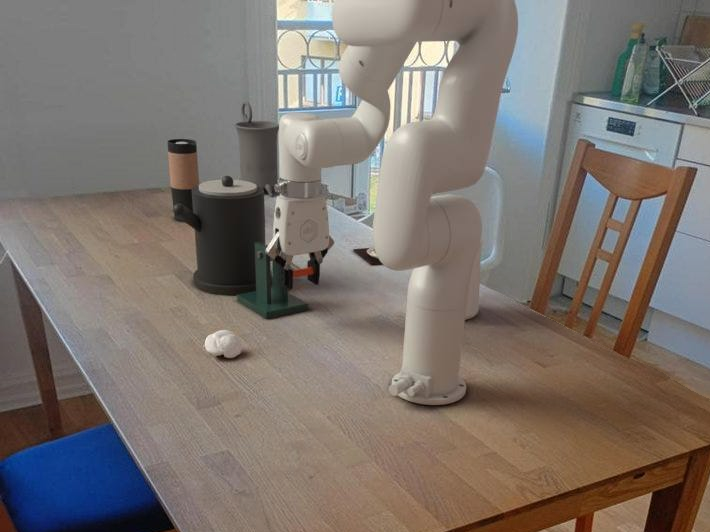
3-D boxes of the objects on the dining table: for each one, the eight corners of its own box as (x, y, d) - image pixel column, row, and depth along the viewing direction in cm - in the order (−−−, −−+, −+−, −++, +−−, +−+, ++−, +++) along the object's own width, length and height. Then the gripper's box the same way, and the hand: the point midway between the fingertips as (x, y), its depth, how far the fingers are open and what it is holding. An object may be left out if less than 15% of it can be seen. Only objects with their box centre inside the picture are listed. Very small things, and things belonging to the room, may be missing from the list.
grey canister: (293, 194, 246) (292, 107, 233) (250, 199, 239) (247, 109, 226) (265, 182, 260) (263, 99, 246) (224, 186, 253) (220, 100, 239)
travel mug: (170, 216, 220) (163, 139, 209) (197, 214, 222) (192, 138, 212) (177, 223, 214) (170, 144, 203) (204, 221, 217) (199, 143, 206)
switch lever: (313, 277, 153) (314, 266, 151) (291, 282, 150) (291, 270, 149) (278, 254, 161) (278, 242, 159) (256, 258, 158) (256, 246, 157)
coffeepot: (417, 332, 154) (425, 236, 144) (433, 291, 175) (440, 204, 165) (472, 338, 153) (484, 241, 143) (481, 296, 173) (492, 209, 163)
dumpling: (232, 347, 145) (236, 328, 143) (243, 362, 142) (248, 343, 140) (197, 348, 141) (201, 328, 139) (208, 363, 138) (212, 344, 136)
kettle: (285, 286, 174) (283, 179, 162) (198, 303, 163) (190, 190, 151) (240, 262, 187) (236, 162, 175) (157, 276, 176) (147, 170, 164)
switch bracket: (308, 309, 162) (308, 248, 156) (266, 319, 157) (264, 255, 150) (277, 292, 170) (276, 233, 163) (237, 300, 165) (234, 239, 158)
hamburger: (416, 261, 193) (418, 238, 190) (371, 265, 189) (372, 242, 186) (396, 247, 202) (398, 225, 200) (353, 250, 199) (354, 228, 196)
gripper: (270, 198, 136) (272, 299, 146) (350, 187, 145) (347, 283, 155) (248, 188, 141) (252, 286, 151) (327, 179, 150) (325, 272, 160)
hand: (300, 284), depth 153 cm, fingers closed on switch lever, 5 cm apart
